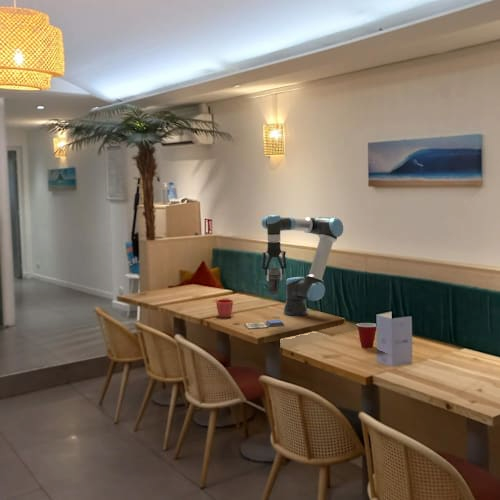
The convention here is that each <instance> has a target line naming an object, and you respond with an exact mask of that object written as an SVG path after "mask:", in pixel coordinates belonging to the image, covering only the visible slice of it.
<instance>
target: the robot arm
mask: <svg viewBox="0 0 500 500" xmlns="http://www.w3.org/2000/svg"><path fill="white" fill-rule="evenodd" d="M261 226H262V228H263V229H266V233H267V248H266V249H267V250H266V251H262V261H261V269H263V270H264V276H266V281H267V282H269V270H270V269H269V267H270V263H271V261H272V260H273V258H276V260H277V262H278V265H279V271H280V279H279V281H280V282H281V281H283V276H284V273H285V272H284V269H287V265H288V264H287V260H286V259H287V257H286V253H287V252H286V251H285V250H282V249H281V232H282V231H296V232H303V233H306V234H313V235H317V236H318V238H319V239H318V240H319V241H318V244H317V247H316V250H315V253H314V257H313V260H312V263H311V267H310V269H309V274H307V275H306V276H305V277H304V276H296V277H288V278H287V279H286V282H285V299H286V301H285V304H284V308H283V315H287V316H305V315H307V314H308V308H307V304H306V301H305V300H308V301H319V300H320V299H323V297H324V295H325V293H326V286H325V285H324V280H323V277H324V273H325V271H326V268H327V267H326V266H327V264H328V261H329V256H330V253H331V251H332V247H333V243H336V242H337V239H338V238H339V237H341V236H342V235H343V233H344V225H343V222H342V221H341V219H339V218H336V217H323V216H318V217H305V218H296V217H295V218H294V217H281V215H280V214H269V215H267V216H264V217H263V218H262V220H261ZM267 255H268V258H267V257H266V256H267ZM280 255H281V256H282V260H281V257H280ZM266 259H267V260H266Z"/></svg>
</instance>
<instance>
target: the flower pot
mask: <svg viewBox="0 0 500 500" xmlns="http://www.w3.org/2000/svg"><path fill="white" fill-rule="evenodd" d="M215 302H216V308H217V314H218V315H217V316H218V317H221V318H228V317H229V318H230V317H231V316H232V311H233V305H234V300H232V299H218V300H216V301H215Z"/></svg>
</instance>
